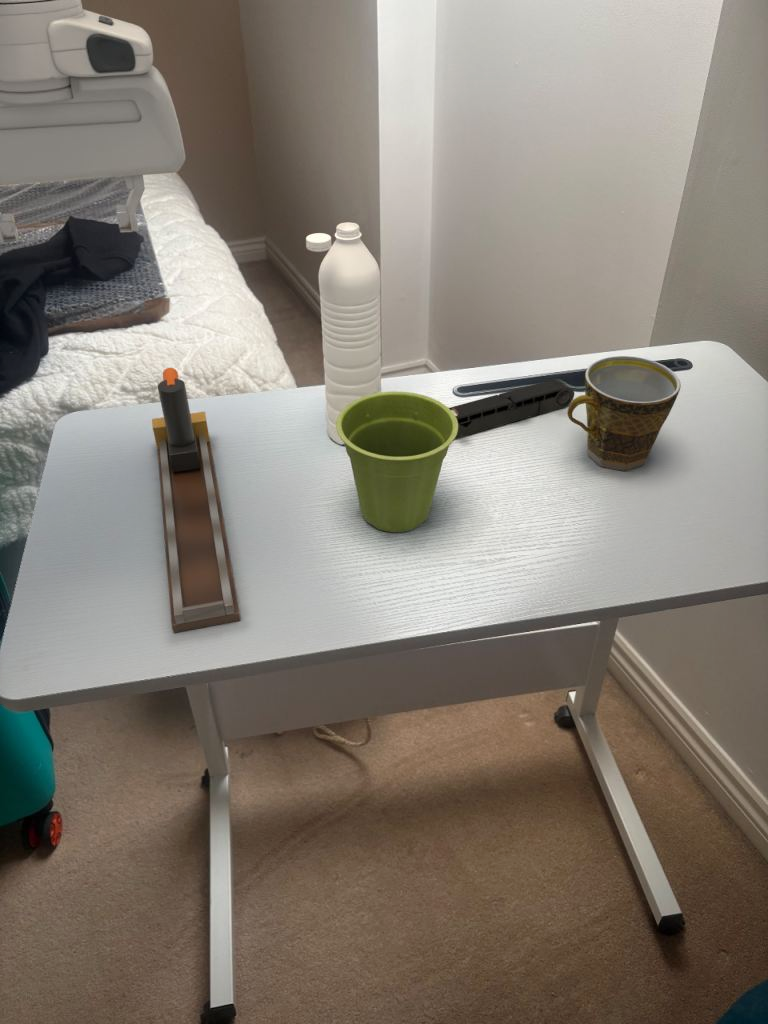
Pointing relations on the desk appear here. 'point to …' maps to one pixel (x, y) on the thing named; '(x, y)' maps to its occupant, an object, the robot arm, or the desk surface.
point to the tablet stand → (512, 406)
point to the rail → (196, 544)
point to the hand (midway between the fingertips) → (69, 234)
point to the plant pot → (396, 454)
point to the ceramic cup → (625, 409)
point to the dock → (197, 422)
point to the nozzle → (178, 422)
